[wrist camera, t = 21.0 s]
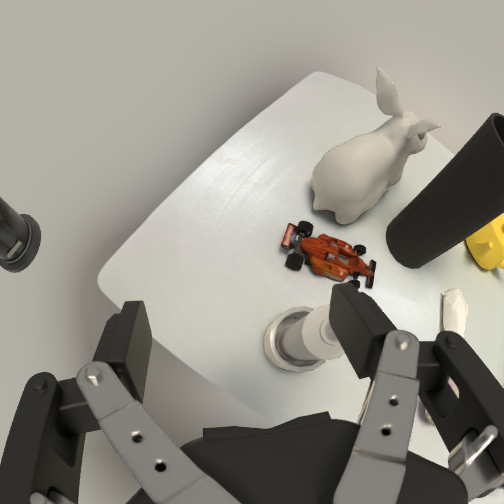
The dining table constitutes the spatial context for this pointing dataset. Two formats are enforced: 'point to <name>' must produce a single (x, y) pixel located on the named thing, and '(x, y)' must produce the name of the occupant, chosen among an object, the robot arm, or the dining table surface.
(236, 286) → the dining table surface
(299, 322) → the bottle
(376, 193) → the rabbit
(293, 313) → the stand
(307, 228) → the toy car
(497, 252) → the teapot
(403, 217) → the vase
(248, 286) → the dining table surface
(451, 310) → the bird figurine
